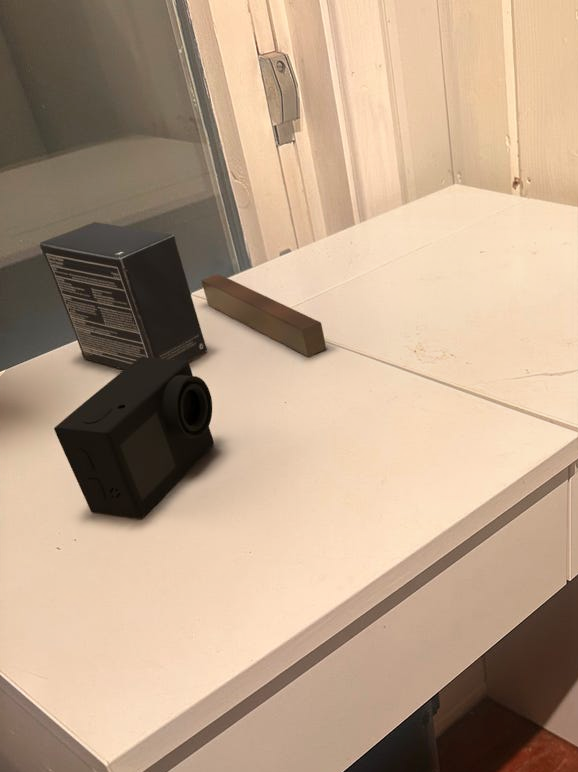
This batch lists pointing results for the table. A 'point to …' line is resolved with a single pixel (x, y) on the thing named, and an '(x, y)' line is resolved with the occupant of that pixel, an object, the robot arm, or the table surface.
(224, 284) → the brown wooden bar
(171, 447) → the digital camera
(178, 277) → the small box
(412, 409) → the table surface
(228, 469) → the table surface
